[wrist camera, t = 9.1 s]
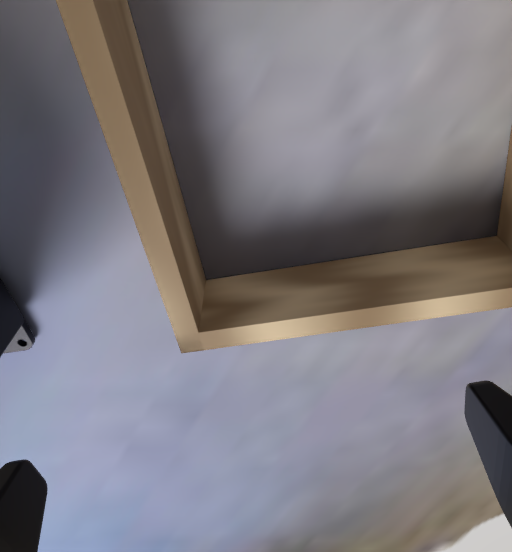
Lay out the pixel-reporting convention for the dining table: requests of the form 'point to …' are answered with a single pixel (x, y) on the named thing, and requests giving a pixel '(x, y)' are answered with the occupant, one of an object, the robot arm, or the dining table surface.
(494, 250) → the oak frame
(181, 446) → the dining table surface
